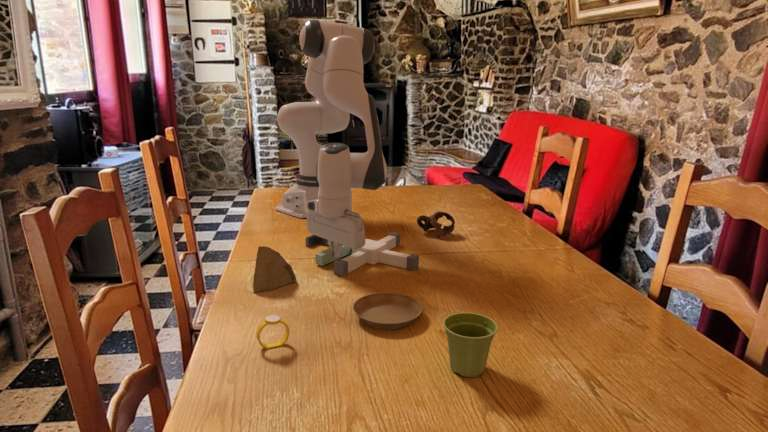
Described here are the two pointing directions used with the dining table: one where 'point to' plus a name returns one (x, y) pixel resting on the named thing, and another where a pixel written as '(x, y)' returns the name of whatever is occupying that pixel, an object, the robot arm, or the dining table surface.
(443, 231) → the pottery mug
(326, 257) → the hinged leg
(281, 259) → the rock
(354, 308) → the plant saucer
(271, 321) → the gold ring
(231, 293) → the dining table surface
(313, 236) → the leg socket
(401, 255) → the stool base
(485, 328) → the plant pot
